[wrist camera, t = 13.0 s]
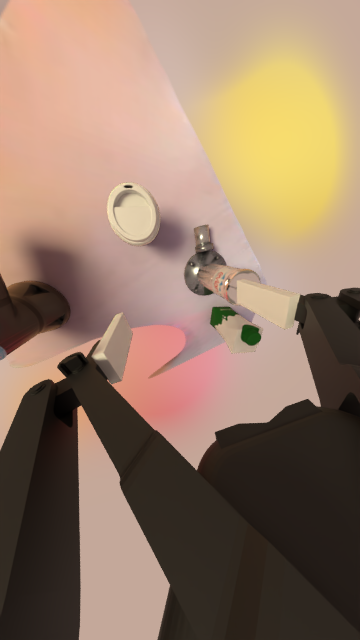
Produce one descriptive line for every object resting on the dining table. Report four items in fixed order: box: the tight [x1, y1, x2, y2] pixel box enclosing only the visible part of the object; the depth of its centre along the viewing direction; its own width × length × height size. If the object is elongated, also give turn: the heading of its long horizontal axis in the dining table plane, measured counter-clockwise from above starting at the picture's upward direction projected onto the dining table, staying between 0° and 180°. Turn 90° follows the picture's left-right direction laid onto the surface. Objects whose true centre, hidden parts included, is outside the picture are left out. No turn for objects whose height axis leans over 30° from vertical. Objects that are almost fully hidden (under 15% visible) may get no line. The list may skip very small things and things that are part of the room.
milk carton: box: [210, 307, 263, 353], centre depth 44 cm, size 9×9×20 cm
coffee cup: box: [107, 182, 160, 246], centre depth 30 cm, size 10×10×15 cm
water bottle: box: [197, 263, 261, 305], centre depth 32 cm, size 7×7×25 cm
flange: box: [184, 225, 226, 295], centre depth 41 cm, size 14×20×5 cm
